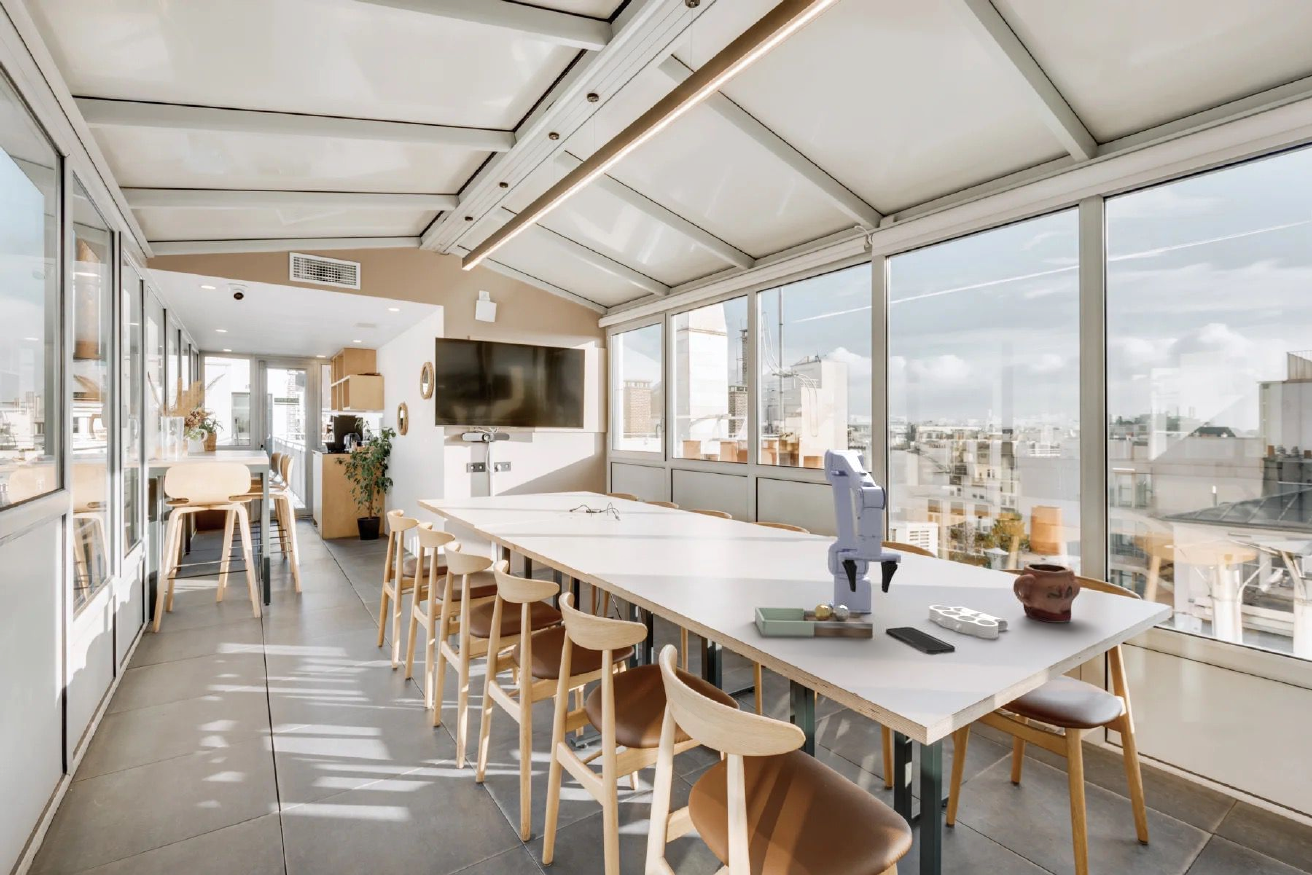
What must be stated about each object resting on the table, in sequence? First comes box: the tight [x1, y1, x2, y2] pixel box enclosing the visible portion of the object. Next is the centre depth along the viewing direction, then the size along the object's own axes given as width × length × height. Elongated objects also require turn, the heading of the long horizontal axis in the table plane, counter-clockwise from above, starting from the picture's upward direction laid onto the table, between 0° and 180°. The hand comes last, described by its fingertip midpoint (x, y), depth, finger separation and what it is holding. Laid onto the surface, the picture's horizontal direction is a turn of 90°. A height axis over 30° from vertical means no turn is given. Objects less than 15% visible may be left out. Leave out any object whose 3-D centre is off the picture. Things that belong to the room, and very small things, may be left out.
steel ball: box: [832, 605, 850, 622], centre depth 147 cm, size 4×4×4 cm
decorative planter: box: [1012, 563, 1081, 623], centre depth 158 cm, size 20×12×14 cm, turn 112°
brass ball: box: [813, 604, 832, 621], centre depth 147 cm, size 4×4×4 cm
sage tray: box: [754, 606, 815, 638], centre depth 147 cm, size 12×12×4 cm
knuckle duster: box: [928, 604, 1008, 640], centre depth 152 cm, size 3×18×15 cm
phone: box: [885, 626, 956, 655], centre depth 140 cm, size 8×1×15 cm
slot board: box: [803, 609, 874, 638], centre depth 147 cm, size 14×10×3 cm
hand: (868, 591), depth 147 cm, fingers open, 7 cm apart
